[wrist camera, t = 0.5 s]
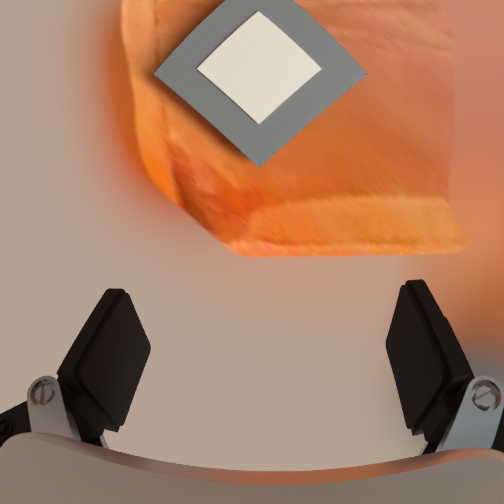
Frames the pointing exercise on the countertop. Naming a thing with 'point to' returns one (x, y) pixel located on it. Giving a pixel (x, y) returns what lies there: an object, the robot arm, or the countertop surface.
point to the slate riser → (260, 72)
